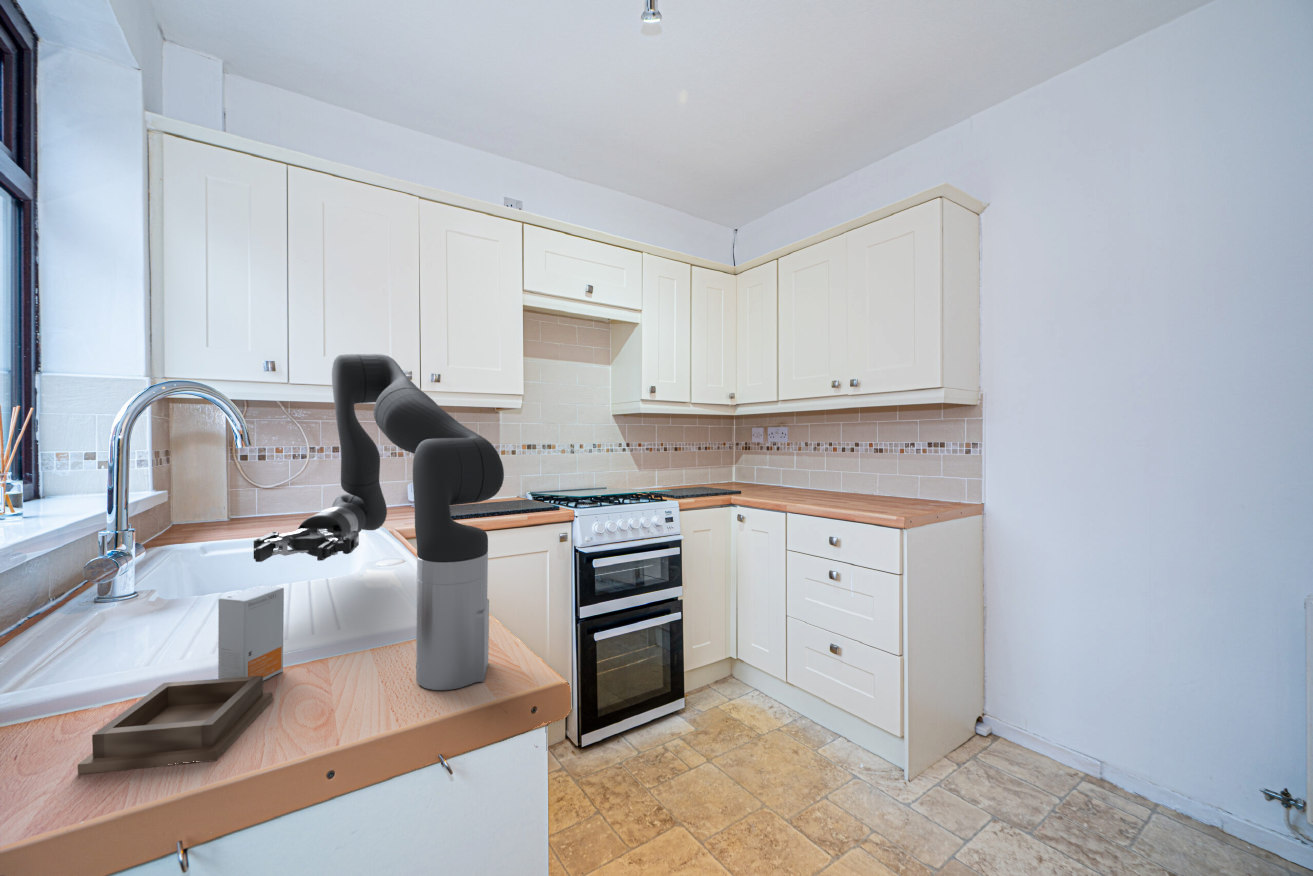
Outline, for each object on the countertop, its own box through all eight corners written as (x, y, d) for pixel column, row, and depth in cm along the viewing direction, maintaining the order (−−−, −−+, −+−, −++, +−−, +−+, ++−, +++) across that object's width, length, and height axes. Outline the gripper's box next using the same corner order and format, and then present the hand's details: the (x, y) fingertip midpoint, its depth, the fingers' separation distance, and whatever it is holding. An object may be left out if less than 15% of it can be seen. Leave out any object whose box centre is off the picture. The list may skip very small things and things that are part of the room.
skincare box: (244, 693, 69) (243, 601, 68) (217, 688, 70) (216, 598, 69) (285, 670, 75) (285, 586, 74) (260, 667, 76) (259, 584, 75)
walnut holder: (272, 699, 67) (272, 672, 67) (216, 760, 56) (216, 727, 56) (161, 708, 65) (160, 680, 65) (77, 774, 53) (76, 740, 53)
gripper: (286, 510, 97) (236, 531, 81) (371, 510, 100) (339, 530, 84) (286, 551, 97) (236, 580, 81) (371, 549, 100) (339, 577, 84)
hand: (289, 555), depth 83 cm, fingers open, 8 cm apart
